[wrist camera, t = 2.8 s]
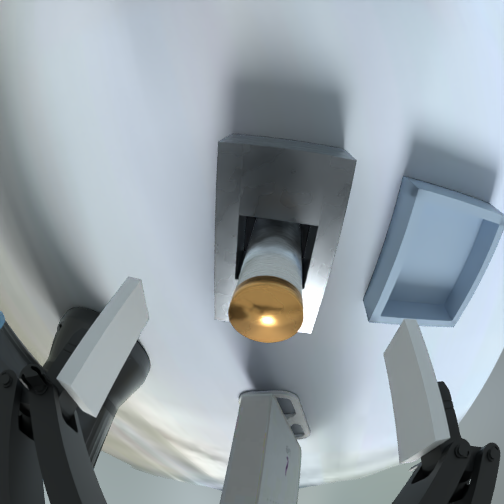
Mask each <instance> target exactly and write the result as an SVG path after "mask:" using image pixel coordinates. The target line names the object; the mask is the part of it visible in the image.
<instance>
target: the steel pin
mask: <svg viewBox="0 0 504 504" xmlns="http://www.w3.org/2000/svg"><path fill="white" fill-rule="evenodd" d="M228 316H229V320H230V322H231V324H232V326H233V327H234V328H235V329H236V330H237V331H238V332H239V333H240V334H242V335H243V336H245V337H247V338H249V339H251V340H255V341H259V342H266V343H272V342H279V341H283V340H286V339H288V338H290V337H292V336H293V335H295V334H296V333H297V332H298V331H299V330H300V328H301V326H302V324H303V320H304V305H303V298H302V260H301V235H300V223H294V222H288V221H280V220H273V219H266V218H258V217H257V218H256V221H255V224H254V228H253V231H252V234H251V238H250V241H249V245H248V248H247V251H246V255H245V258H244V262H243V265H242V268H241V272H240V275H239V279H238V282H237V286H236V289H235V291H234V293H233V296H232V299H231V303H230V306H229V310H228Z"/></svg>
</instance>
